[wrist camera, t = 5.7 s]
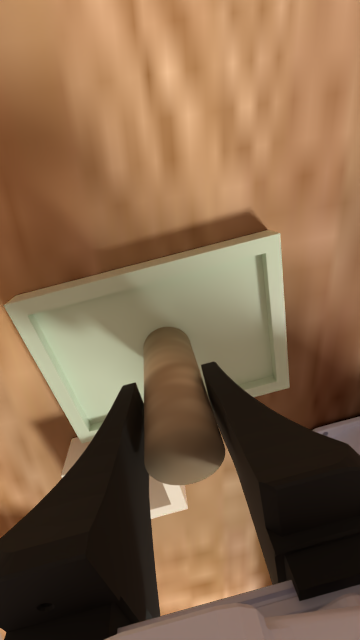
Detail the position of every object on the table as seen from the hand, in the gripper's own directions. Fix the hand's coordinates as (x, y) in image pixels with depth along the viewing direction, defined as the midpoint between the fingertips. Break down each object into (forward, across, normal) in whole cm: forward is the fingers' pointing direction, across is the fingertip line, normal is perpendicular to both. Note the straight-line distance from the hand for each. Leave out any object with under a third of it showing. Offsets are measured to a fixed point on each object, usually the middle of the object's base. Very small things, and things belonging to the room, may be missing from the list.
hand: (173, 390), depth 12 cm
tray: (+5, 0, 0) cm, 5 cm away
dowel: (+4, 0, 0) cm, 4 cm away
